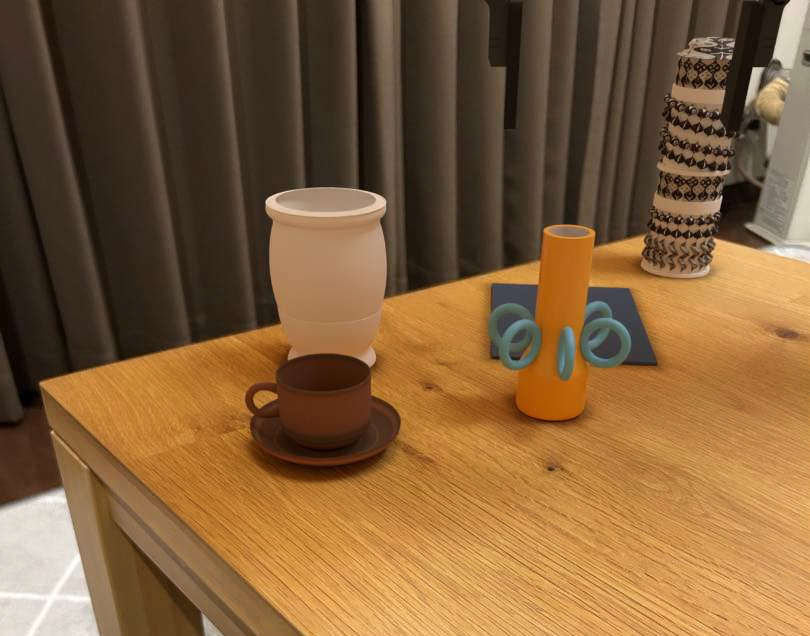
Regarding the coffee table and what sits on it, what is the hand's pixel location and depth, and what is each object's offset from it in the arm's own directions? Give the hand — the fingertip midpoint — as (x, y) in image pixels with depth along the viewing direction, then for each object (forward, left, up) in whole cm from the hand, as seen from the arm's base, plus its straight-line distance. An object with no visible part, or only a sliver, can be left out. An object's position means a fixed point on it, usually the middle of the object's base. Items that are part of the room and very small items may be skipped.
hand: (618, 125), depth 55 cm
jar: (+27, +4, -24) cm, 37 cm away
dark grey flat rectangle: (+20, -22, -24) cm, 39 cm away
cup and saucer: (+14, +14, -24) cm, 31 cm away
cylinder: (+7, -5, -24) cm, 26 cm away
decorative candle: (+24, -47, -24) cm, 59 cm away
